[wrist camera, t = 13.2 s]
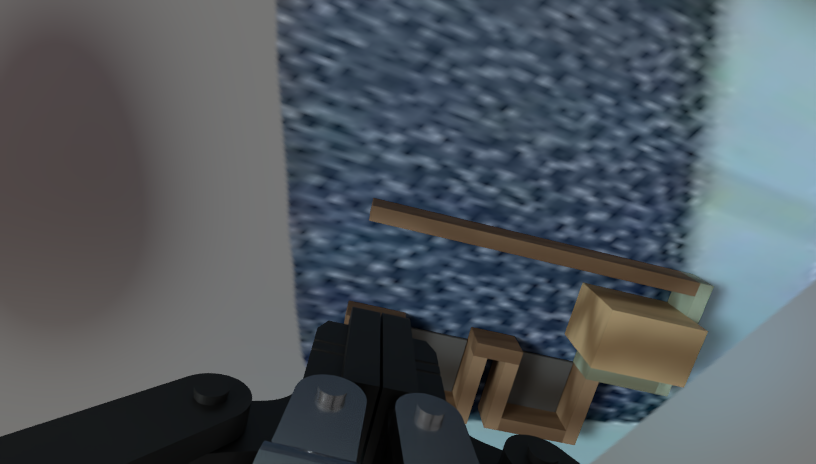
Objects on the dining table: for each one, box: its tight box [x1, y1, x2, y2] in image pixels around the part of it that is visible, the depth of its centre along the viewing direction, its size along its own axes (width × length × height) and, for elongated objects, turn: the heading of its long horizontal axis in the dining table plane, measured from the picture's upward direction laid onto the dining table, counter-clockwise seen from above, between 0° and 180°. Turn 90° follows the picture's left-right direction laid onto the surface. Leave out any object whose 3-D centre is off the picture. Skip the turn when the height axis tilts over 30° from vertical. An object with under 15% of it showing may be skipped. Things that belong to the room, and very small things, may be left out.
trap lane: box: [344, 198, 714, 445], centre depth 43 cm, size 17×29×3 cm, turn 76°
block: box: [565, 283, 708, 387], centre depth 42 cm, size 5×8×6 cm, turn 76°
